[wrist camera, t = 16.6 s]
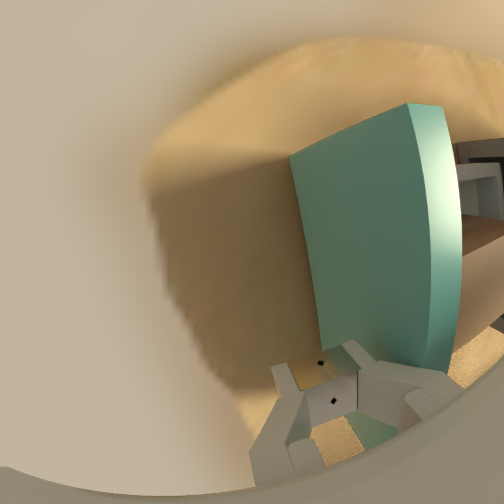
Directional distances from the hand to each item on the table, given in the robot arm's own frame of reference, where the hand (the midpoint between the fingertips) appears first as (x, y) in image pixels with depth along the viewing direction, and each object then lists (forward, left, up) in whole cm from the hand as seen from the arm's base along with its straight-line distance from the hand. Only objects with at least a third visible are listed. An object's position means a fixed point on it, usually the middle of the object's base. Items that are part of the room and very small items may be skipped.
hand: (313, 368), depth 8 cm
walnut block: (0, -10, -4) cm, 11 cm away
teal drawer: (0, -9, -6) cm, 11 cm away
